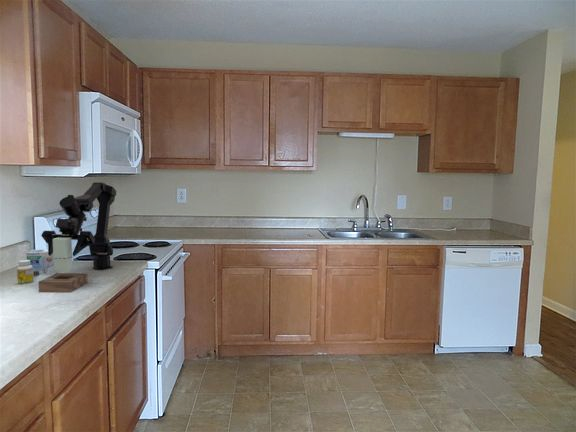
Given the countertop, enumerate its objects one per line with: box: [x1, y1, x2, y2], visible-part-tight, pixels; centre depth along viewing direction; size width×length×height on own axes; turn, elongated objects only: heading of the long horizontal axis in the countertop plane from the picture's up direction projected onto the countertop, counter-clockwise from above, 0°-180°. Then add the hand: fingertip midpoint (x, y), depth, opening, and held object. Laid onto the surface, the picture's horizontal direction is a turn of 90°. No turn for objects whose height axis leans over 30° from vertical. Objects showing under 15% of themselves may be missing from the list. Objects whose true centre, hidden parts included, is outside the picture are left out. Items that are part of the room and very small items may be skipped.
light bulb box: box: [26, 248, 59, 277], centre depth 180 cm, size 11×7×11 cm, turn 105°
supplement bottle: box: [16, 259, 34, 285], centre depth 165 cm, size 5×5×10 cm
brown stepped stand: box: [38, 272, 89, 293], centre depth 159 cm, size 20×16×5 cm
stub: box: [53, 237, 74, 272], centre depth 158 cm, size 4×5×12 cm
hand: (61, 255), depth 157 cm, fingers open, 9 cm apart
